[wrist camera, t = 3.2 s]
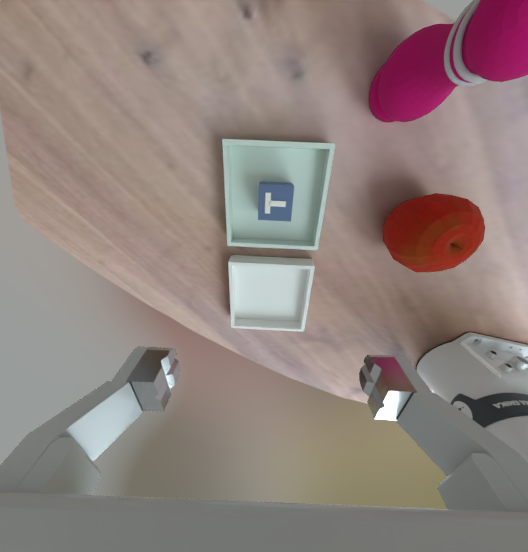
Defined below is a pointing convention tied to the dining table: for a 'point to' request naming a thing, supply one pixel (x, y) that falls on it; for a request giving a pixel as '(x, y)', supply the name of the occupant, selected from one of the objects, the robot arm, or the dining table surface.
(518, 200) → the dining table surface
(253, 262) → the tray offwhite
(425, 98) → the pepper mill
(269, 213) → the letter cube
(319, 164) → the tray sage
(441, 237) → the apple
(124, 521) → the robot arm
